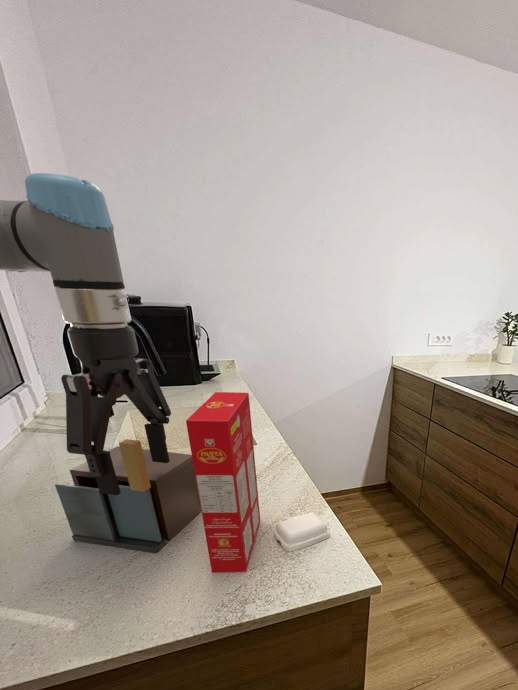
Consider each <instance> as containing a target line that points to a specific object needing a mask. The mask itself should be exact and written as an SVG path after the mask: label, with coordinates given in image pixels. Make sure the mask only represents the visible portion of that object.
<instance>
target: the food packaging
mask: <svg viewBox="0 0 518 690" xmlns="http://www.w3.org/2000/svg"><path fill="white" fill-rule="evenodd" d="M185 425H186V430H187V435H188V436H187V437H188V441H189V447H190V455H192V459H193V465H194V471H195V477H196V483H197V488H198V494H199V500H200V506H201V512H200V513H201V517H202V524H203V529H204V535H205V541H206V545H207V546H206V547H207V550H208V558H209V564H210V569H211V573H246V572H247V569H248V566H249V562H250V559H251V555H252V552H253V549H254V545H255V541H256V538H257V534H258V531H259V527H260V524H261V512H260V503H259V502H260V501H259V492H258V481H257V470H256V460H255V459H256V458H255V447H254V435H253V426H252V415H251V405H250V394H249V392H237V391H236V392H235V391H233V392H232V391H215V392H214V393H213V394H212V395H210V397H208V398H207V399H206V401H204V402H203V403H202V404H201V405H200V406H199V407H198V408H197V409H196V410H195V411H194V412H193V413H192V414H191V415H190V416H189V417H188V418H187V419H185Z"/></svg>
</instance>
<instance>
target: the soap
mask: <svg viewBox="0 0 518 690" xmlns="http://www.w3.org/2000/svg"><path fill="white" fill-rule="evenodd" d="M330 534H331V532H330V530H329V529H328V524H326V522H325V521H324V520H323V519H322V518H321V517H319V516H318V515H317V514H316V513H314V512H308V513H304V514H301V515H297V516H295V517H291V518H288V519H285V520H282V521H279V522H277V523H276V524H275V529H274V530H273V536H274V538H275V540H276V541H279V543H280V545H281V547H282V548H283V549H284V550H285V551H286V552H294V551H297V550H301V549H303V548H306V547H310V546H312V545H315V544H318V543H320V542H323V541H325V540H327V539H329V538H330V537H331V535H330Z"/></svg>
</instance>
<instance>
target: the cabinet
mask: <svg viewBox="0 0 518 690" xmlns="http://www.w3.org/2000/svg"><path fill="white" fill-rule="evenodd" d="M108 451H109V452H110V456H111V459H112V463H113V466H114V470H115V474H116V477H117V481H118V484H119V485H123V486H130V484H129V480H128V477H127V473H126V469H125V465H124V461H123V458H122V454H121V450H120V446H119V445H118V446H114V447H113V448H111V449H108ZM142 451H143V455H144V459H145V464H146V468H147V472H148V476H149V481H150V485H151V488H149V489H150V493H151V497H152V501H153V505H154V510H155V514H156V518H157V522H158V526H159V531H160V535H161V539H162V540H161V541H160V542H156V541H149V540H142V539H136V538H129V537H122V536H120V535H119V531H118V528H117V524H116V521H115V518H114V514H113V511H112V507H111V504H110V501H109V497H108V494H103V493H100V491H99V488H98V484H97V481H96V478H95V476H93V475H92V474H91V473H90V470H89V467H88V463H87V460H86V461H85V462H82V463H80V464H79V465H76V466H74V467H72V468H70V469H69V473H70V475H71V480H72V482H73V484H69V483H68V484H66V483H60V482H57V483H56V484H54V487H55V490H56V492H57V494H58V497H59V500H60V503H61V506H62V509H63V511H64V514H65V517H66V520H67V523H68V525H69V528H70V531H71V533H72V535H71V539H72V540H73V541H75V542H81V543H89V544H94V545H101V546H108V547H113V548H114V547H115V548H121V549H125V550H126V549H127V550H132V551H140V552H145V553H146V552H147V553H153V554H157V553H158V552H159V551H161V550H162V549H163V548H164V547H165V546H166V545H167V544H168V542H170V541H171V540H173V538H174V537H175V536H177V535H178V534H179V533H180V532H181V531H182V530H183V529H184V528H185V527H186V526H187V525H188V524H190V522H191V521H193V520H194V519H195V518H196V517H197V516H198V515H199V514H200V513H202V512H201V506H200V500H199V494H198V488H197V483H196V477H195V471H194V465H193V459H192V454H191V453H190V454H189V453H182V452H181V453H180V452H171V451H168V455H169V460H170V462H168V463H161V462H152V457H151V453H150V449H146V448H142Z"/></svg>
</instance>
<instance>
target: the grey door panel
mask: <svg viewBox="0 0 518 690" xmlns="http://www.w3.org/2000/svg"><path fill="white" fill-rule="evenodd" d="M118 446H119V447H120V450H121V454H122V458H123V461H124V465H125V469H126V473H127V477H128V480H129V484H130V486H123V485H119V488H120V492H121V493H120V494H118V495H110V494H108V497H109V501H110V504H111V507H112V511H113V514H114V518H115V521H116V524H117V528H118V531H119V535H120V536H122V537H129V538H136V539H142V540H149V541H156V542H160V541H161V540H162V539H161V535H160V531H159V526H158V522H157V518H156V514H155V510H154V505H153V501H152V497H151V493H150V489H149V488H151V485H150V481H149V476H148V472H147V468H146V464H145V459H144V455H143V451H142V449H143V446H142V442H141V440H136V439H128V438H127V439H123V440H122V441H119V442H118Z"/></svg>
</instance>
